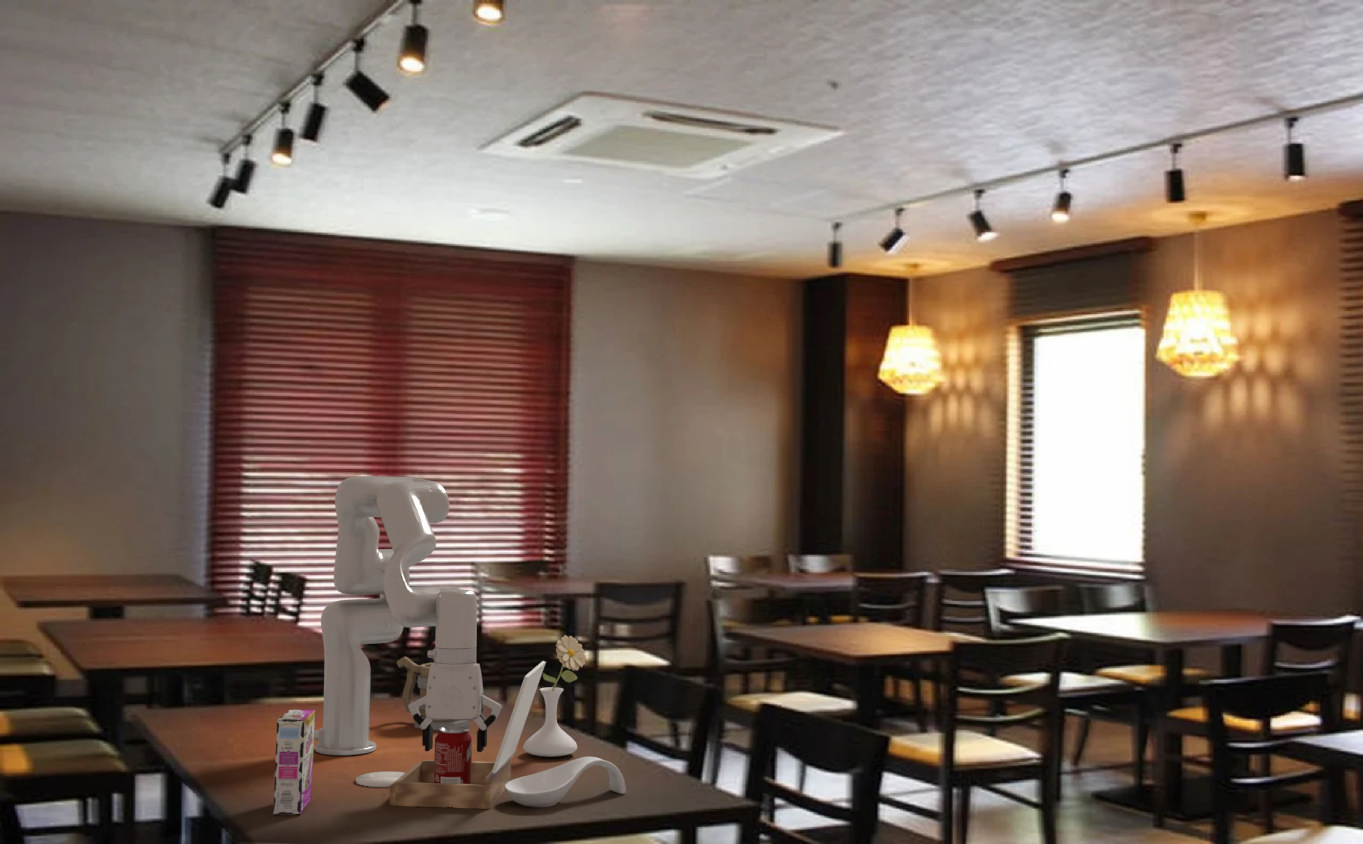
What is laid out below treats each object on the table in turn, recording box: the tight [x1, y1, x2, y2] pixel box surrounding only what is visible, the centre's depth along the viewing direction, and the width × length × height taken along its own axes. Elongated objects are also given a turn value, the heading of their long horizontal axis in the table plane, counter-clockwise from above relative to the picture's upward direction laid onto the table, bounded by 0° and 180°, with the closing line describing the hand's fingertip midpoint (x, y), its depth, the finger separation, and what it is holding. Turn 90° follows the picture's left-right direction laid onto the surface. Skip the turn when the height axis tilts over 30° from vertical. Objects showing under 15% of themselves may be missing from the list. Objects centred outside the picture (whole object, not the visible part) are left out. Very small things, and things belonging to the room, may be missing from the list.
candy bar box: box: [272, 709, 316, 815], centre depth 248 cm, size 11×5×16 cm, turn 5°
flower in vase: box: [522, 634, 587, 758], centre depth 297 cm, size 13×11×25 cm
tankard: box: [396, 656, 471, 732], centre depth 330 cm, size 20×13×15 cm, turn 58°
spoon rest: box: [504, 756, 627, 808], centre depth 258 cm, size 24×12×7 cm, turn 126°
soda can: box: [433, 726, 473, 784], centre depth 260 cm, size 7×7×12 cm
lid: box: [490, 660, 547, 778], centre depth 260 cm, size 19×20×1 cm
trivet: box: [355, 771, 406, 788], centre depth 270 cm, size 11×11×1 cm
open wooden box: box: [389, 758, 512, 810], centre depth 260 cm, size 18×20×5 cm
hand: (454, 750), depth 260 cm, fingers open, 9 cm apart
